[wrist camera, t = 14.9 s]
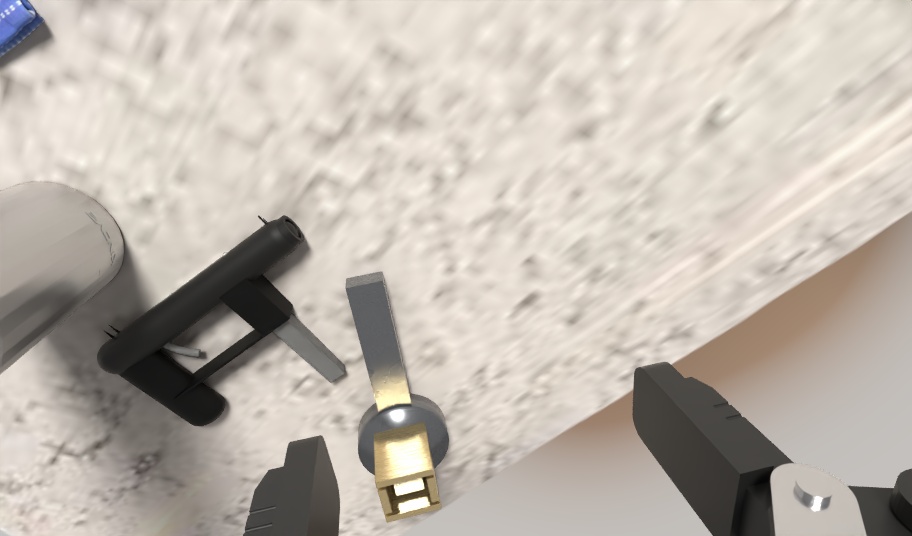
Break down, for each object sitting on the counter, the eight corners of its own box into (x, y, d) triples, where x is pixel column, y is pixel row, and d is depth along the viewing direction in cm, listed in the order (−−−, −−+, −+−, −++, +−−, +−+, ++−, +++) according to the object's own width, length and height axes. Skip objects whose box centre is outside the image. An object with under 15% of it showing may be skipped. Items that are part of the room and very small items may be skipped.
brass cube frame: (384, 471, 48) (386, 522, 43) (373, 433, 46) (375, 482, 41) (432, 459, 49) (441, 508, 43) (424, 421, 47) (432, 468, 41)
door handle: (396, 342, 43) (268, 209, 36) (225, 461, 45) (68, 357, 37) (392, 323, 46) (273, 196, 39) (232, 435, 48) (88, 334, 40)
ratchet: (368, 470, 51) (369, 528, 45) (313, 285, 42) (304, 324, 35) (450, 450, 52) (462, 504, 46) (413, 264, 43) (422, 299, 36)
